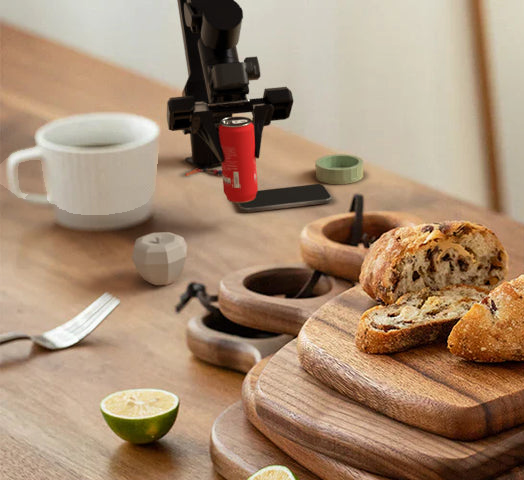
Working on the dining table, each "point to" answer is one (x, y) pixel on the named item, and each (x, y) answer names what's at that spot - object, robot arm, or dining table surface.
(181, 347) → the dining table surface
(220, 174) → the necklace
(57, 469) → the dining table surface
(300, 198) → the smartphone
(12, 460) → the dining table surface
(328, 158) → the ring
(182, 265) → the apple
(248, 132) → the beverage can
